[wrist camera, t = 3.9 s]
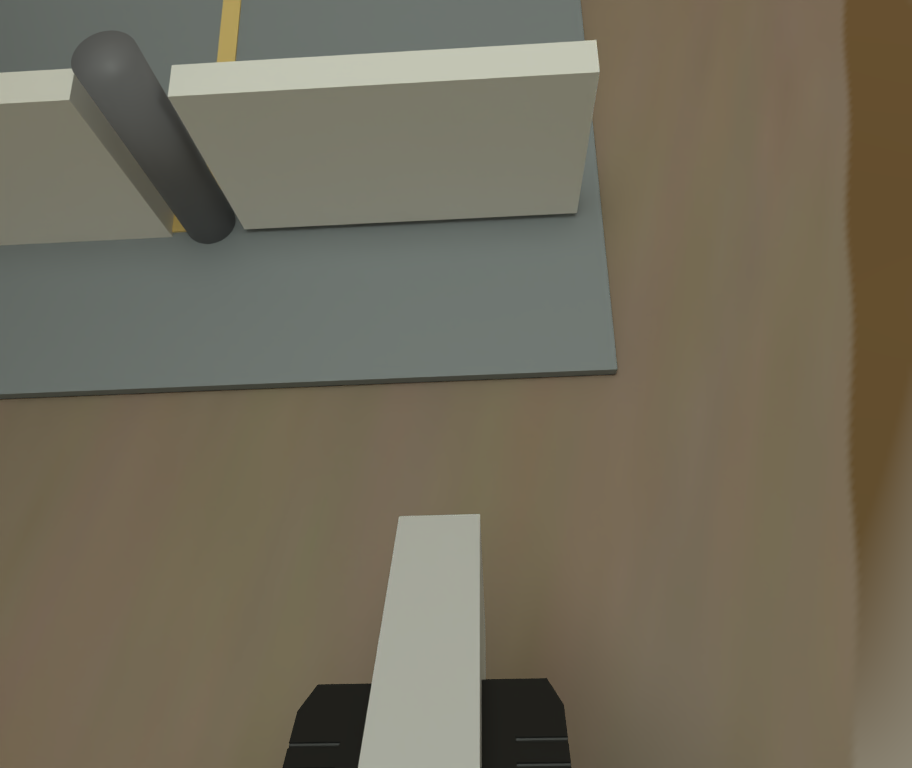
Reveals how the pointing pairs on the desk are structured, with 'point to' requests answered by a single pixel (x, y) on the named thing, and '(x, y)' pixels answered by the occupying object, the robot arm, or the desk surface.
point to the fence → (101, 154)
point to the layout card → (302, 238)
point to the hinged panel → (394, 133)
